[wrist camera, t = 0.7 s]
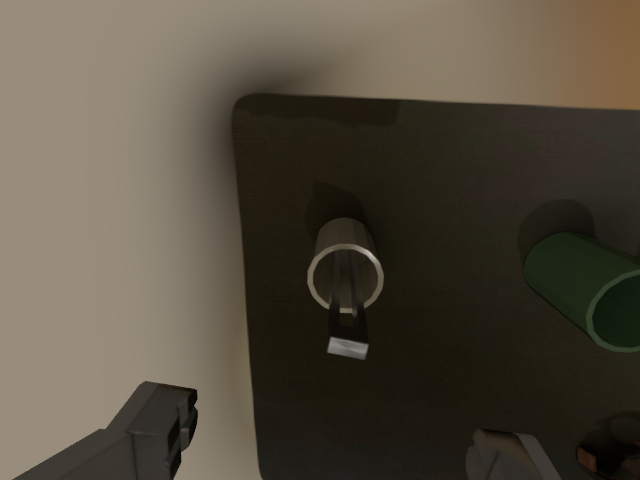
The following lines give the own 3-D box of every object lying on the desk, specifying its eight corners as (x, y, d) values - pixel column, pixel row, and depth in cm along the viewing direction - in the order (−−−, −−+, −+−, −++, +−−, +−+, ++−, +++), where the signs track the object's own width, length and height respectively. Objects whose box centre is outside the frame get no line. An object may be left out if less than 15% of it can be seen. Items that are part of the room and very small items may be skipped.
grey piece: (334, 240, 36) (330, 336, 19) (355, 244, 36) (369, 344, 19) (332, 250, 37) (325, 353, 20) (353, 254, 37) (365, 360, 20)
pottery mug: (568, 427, 44) (647, 466, 36) (611, 402, 47) (692, 433, 40) (580, 513, 44) (661, 568, 37) (622, 482, 48) (704, 527, 40)
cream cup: (315, 215, 36) (308, 241, 28) (375, 218, 36) (387, 245, 27) (314, 270, 38) (306, 310, 30) (370, 274, 38) (379, 315, 30)
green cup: (532, 229, 35) (602, 265, 26) (607, 233, 35) (706, 271, 26) (516, 294, 38) (575, 349, 28) (586, 298, 38) (669, 355, 28)
